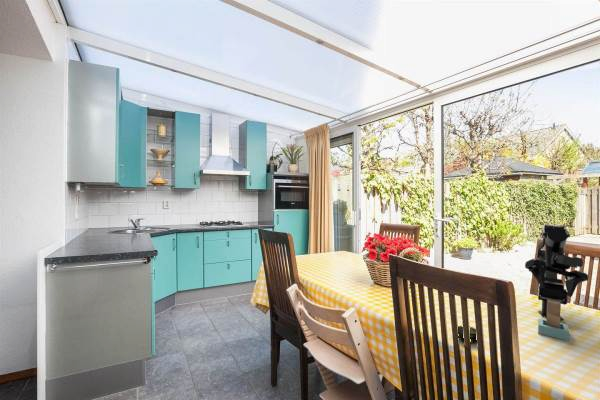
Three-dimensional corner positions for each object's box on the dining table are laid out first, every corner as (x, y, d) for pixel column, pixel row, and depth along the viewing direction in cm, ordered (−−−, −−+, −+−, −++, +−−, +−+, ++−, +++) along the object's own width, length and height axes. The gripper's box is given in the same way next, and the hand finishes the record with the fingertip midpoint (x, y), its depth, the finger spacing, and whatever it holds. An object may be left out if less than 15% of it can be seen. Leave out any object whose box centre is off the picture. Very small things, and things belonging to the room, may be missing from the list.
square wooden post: (545, 330, 107) (547, 299, 107) (558, 333, 105) (560, 302, 105) (546, 333, 105) (547, 302, 104) (559, 336, 102) (560, 304, 102)
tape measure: (453, 334, 101) (453, 323, 101) (475, 337, 100) (475, 326, 100) (460, 344, 95) (460, 332, 94) (483, 347, 93) (484, 335, 93)
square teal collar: (538, 326, 110) (538, 318, 110) (566, 332, 106) (567, 324, 105) (538, 333, 104) (538, 324, 104) (568, 340, 99) (569, 332, 99)
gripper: (543, 239, 111) (544, 279, 104) (599, 254, 108) (604, 297, 101) (524, 248, 121) (524, 285, 114) (574, 263, 118) (577, 302, 111)
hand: (556, 292), depth 110 cm, fingers open, 9 cm apart
